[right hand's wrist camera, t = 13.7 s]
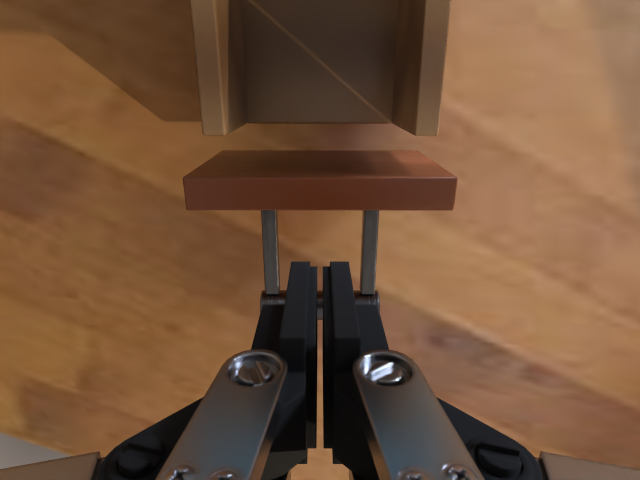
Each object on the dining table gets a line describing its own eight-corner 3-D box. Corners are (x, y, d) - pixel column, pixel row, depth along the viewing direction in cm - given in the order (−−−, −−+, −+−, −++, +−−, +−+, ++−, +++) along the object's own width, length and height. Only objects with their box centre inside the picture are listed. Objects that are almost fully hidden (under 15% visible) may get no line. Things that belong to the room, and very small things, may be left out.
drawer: (407, 276, 23) (438, 343, 17) (232, 276, 23) (201, 343, 17) (463, -405, 14) (568, -763, 8) (177, -405, 14) (73, -763, 8)
